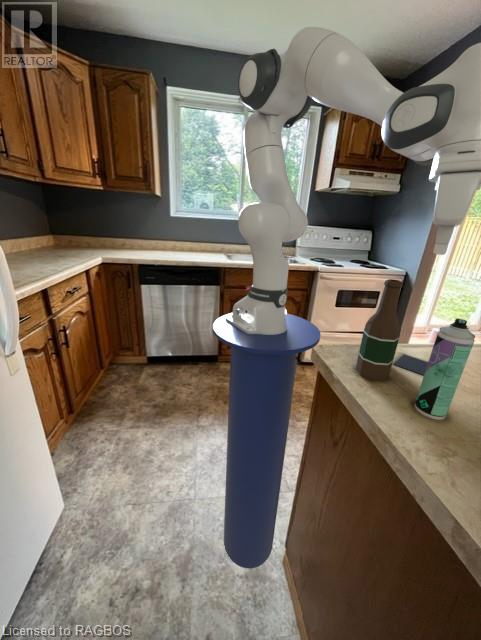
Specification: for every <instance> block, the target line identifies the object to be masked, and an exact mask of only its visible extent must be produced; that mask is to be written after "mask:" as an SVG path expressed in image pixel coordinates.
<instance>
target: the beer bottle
mask: <svg viewBox="0 0 481 640" xmlns="http://www.w3.org/2000/svg"><path fill="white" fill-rule="evenodd" d="M383 285H384V288H383V291H382V295H381V297H380V301H379V304H378V307H377V310H376V311H375V313H373V314H372V315H371V316H370V317H369V318H368V320H367V321H366V323H365V325H364V329H363V332H362V336H361V337H362V338H361V341H360V346H359V351H358V355H357V359H356V364H355V365H356V366H355V370H356V371H357V372H358V374H359V376H360V377H361V376H362V377H364V378H366V379H368V380H371V381H380V382H381V381H384V380H386V379H387V378H388V377H389V376H390V373H391V370H392V366H393V364H394V363H393V362H394V359H395V355H396V351H397V348H398V344H399V341H400V336H401V331H402V330H401V323H400V320H399V318H398V316H397V312H398V306H399V299H400V294H401V289H402V287H404V282H403V281H401V280H400V279H394V278H393V279H392V278H390V279H385V281H384V282H383Z"/></svg>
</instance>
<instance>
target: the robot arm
mask: <svg viewBox="0 0 481 640" xmlns="http://www.w3.org/2000/svg"><path fill="white" fill-rule="evenodd" d="M237 89H238V90H237V91H238V96H239V98H240V101H241V102H242V103H243V104H244V105H245V106H246V107H247V108H249V109H250V110H253V111H255V112H253V113H251V114H250V115H248V117H247V119H246V120H245V121H244V126H243V148H244V157H245V164H246V171H247V176H248V182H249V186H250V189H251V190H252V192H253V193H254V194H255V195H256V196H257V197H258V199H259V200H260V201H259V202H253V203H249V204H246V205H244V207H243V208H242V209H241V210H240V212H239V215H238V219H237V227H238V231H239V233H240V235H241V236H242V238H243V239H244V240H245V241H246V243H247V244H248V246H249V249H250V252H251V256H252V257H251V258H252V265H253V266H252V284H251V285H248V286H247V287H246V289H245V291H248V292H247V295H246V296H243V298H241V299H240V300H238V301H237V302H235V303H234V305H233V307H232V312H231V313H232V314H230V315H228V316H227V317H226V319H225V320H226V321H228V322H229V323H231V324H232V325H234V326H235V327H237V328H239V329H240V330H242V331H243V332H245V333H247V334H263V335H276V334H281V333H284V332H285V331H286V330H287V325H286V317H285V314H288V312H287V309H286V304H287V300H288V291H289V290H288V289H289V288H288V279H289V278H288V277H289V271H290V270H289V268H290V265H289V261H288V260H287V259H286V258H285V255H284V254H283V249H282V243H291V242H293V241H296V240H298V239H300V238H302V237H303V236H304V235H305V234H306V232H307V229H308V225H309V220H308V217H307V214H306V212H305V211H304V210H303V209H302V208H301V206H300V205H299V203H298V201H297V198H296V196H295V194H294V191H293V188H292V186H291V184H290V180H289V176H288V171H287V166H286V165H287V164H286V159H285V154H284V153H285V152H284V147H283V141H282V132H283V128H285V129H290V128H292V127H293V126H294V124H295V123H296V122H298V121H300V120H302V119H303V118H304V117H305V115H306V114H307V113H308V112H309V110H310V109H311V108H312V105H313V102H314V101H315V102H317V103H318V104H321V105H323V106H324V107H325V106H326V107H328V108H332V109H335V110H339V111H341V112H345V113H349V114H353V115H356V116H360V117H363V118H366V119H369V120H371V121H372V122H374V123H376V124H377V125H379V126H380V127H381V139H382V141H383V143H384V145H385V146H386V147H387V148H389V150H391V151H393V152H395V153H396V154H400V155H401V156H404V157H406V158H408V159H410V160H412V161H413V162H414V163H416V164H418V165H421V166H430V167H431V168H430V172H429V177H428V181H429V182H431V183H435V186H434V192H436V194H435V200H434V201H435V202H434V208H433V219H432V220H433V225H435V227H437V231H436V237H435V243H434V247H433V251H432V253H433V254H434V255H439V256H444V255H446V253H447V251H448V247H449V244H450V241H451V239H452V237H453V234H454V230H455V228H456V227H458V226H461V224H462V223H463V221H464V220H465V219H466V216H467V213H468V211H469V209H470V206H471V204H472V202H473V199H474V196H475V194H476V192H477V191H479V190H480V189H481V41H479V42H478V43H475V44H473V45H471V46H470V47H468V48H467V49H465V50H464V51H463V52H462V53H461V54H460V55H459V56H458V58H457V59H456V60H455V61H454V62H453V63H452V64H451V65H450V66H449V67H447V68H445V69H444V70H443V71H442V72H440V73H439V74H437V75H436V76H434V77H432V78H430V79H429V80H427V81H426V82H425V83H423V84H421V85H419V86H415V87H412V88H410V89H408V90H406V91H404V92H403V91H402V90H399V89H398V88H396V87H395V86H393V85H392V84H391V83H390V82H389V81H388V80H387V79H386V78H385V77H384V76H383V74H382V73H380V71H379V70H378V69H377V67H376V66H375V65H374V64H373V62H371V60H370V59H369V58H368V57H367V56H366V55H365V53H364V52H363V51H362V50H361V49H360V48H359V47H358V45H356V44H355V43H354V42H353V41H351V40H350V39H349V38H348V37H346V36H344V35H343V34H340V33H338V32H336V31H334V30H331V29H328V28H325V27H318V26H306V27H304V28H302V29H300V30H298V31H297V33H295V35H294V36H293V38H292V39H291V41H290V43H289V45H288V47H287V50H286V51H285V52H284V53H282V54H279V53H278V50H277V49H276V48H271V49H268V50H267V51H264V52H263V51H262V52H258V53H257V52H256V53H254V54H251V55H250V56H249V57H247V59H246V60H245V61H244V63H243V64H242V66H241V69H240V71H239V74H238V80H237Z"/></svg>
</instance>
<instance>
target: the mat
mask: <svg viewBox="0 0 481 640" xmlns="http://www.w3.org/2000/svg"><path fill="white" fill-rule="evenodd" d="M427 365H428V361H426V360H423V359H420V358H417V357H414V356H411V355H408V354H405V353H403V354H402V355H401V356H400V357H399V358H398V359H397V360H395V362H394V363H393V366H397V367H400V368H402V369H405V370H407V371H411V372H414V373H416V374H418V375H422V376H424V374H425V371H426V368H427Z"/></svg>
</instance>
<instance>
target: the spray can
mask: <svg viewBox="0 0 481 640" xmlns="http://www.w3.org/2000/svg"><path fill="white" fill-rule="evenodd" d="M467 324H468V321H467V320H466V319H463V318H455V319H454V322H452V323H450V324H449V325H447V326H442V327H439V331H438V332H437V334H436V337H435V340H434V343H433V346H432V349H431V352H430V356H429V359H428V361H427V362H428V365H427V368H426V371H425V374H424V375H423V377H422V380H421V383H420V387H419V390H418V393H417V395H416V398H415V402H414V406H413V407H414V409H415V411H417V412H418V413H419V414H421V415H422V416H424V417H425V418H428V419H431V420H432V419H433V420H437V421H442V420H445V419H446V417H447V414H448V412H449V409H450V407H451V405H452V402H453V399H454V396H455V394H456V391H457V389H458V385H459V383H460V380H461V379H462V375H463V372H464V370H465V367H466V365H467V363H468V360H469V357H470V355H471V351H472V349H473V346H474V345H475V344H474V343H475V339H476V335H475V334H473V333H472V332H471V331H470V329H469V327H468V325H467Z"/></svg>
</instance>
